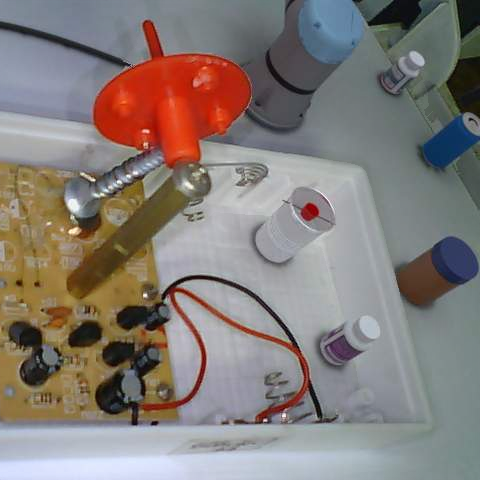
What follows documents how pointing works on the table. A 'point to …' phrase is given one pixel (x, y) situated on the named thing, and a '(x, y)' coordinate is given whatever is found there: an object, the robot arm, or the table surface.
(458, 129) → the beverage can
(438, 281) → the jar
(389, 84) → the pill bottle
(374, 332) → the pill bottle
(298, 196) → the striped cup with float
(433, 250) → the lid
